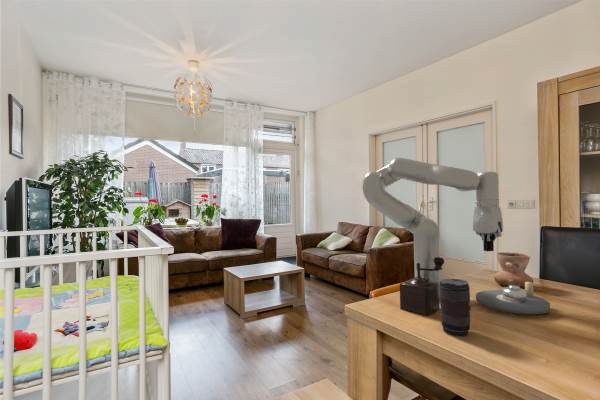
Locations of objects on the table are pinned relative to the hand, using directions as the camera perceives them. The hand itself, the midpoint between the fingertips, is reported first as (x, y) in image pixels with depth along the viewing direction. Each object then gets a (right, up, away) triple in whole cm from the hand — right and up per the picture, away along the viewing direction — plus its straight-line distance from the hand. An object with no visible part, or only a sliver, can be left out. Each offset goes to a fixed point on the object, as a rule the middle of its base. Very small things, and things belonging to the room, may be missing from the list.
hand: (488, 250), depth 120 cm
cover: (+3, -16, -10) cm, 19 cm away
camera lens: (-27, -20, -28) cm, 44 cm away
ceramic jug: (+22, -19, +18) cm, 34 cm away
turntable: (+3, -17, -9) cm, 20 cm away
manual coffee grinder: (-28, -20, -7) cm, 35 cm away
